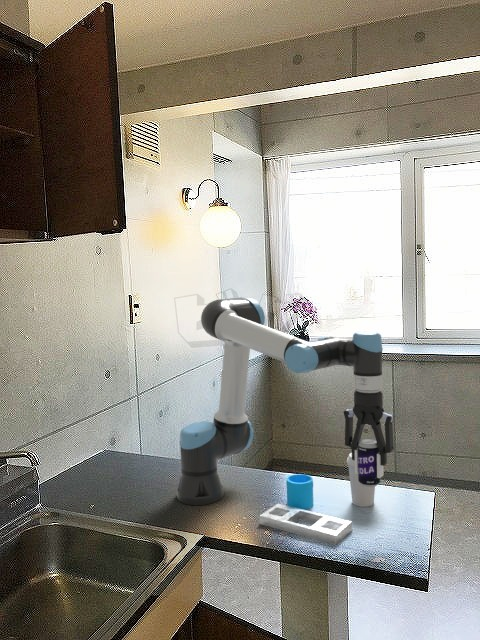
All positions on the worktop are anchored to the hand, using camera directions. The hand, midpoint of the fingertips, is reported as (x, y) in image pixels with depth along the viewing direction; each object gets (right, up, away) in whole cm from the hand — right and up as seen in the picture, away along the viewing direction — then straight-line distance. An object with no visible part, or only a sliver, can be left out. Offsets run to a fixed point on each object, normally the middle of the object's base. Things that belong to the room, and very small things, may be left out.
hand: (369, 474), depth 152 cm
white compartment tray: (-17, -17, +6) cm, 24 cm away
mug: (-15, -16, +24) cm, 32 cm away
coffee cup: (+3, -15, +22) cm, 26 cm away
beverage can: (0, -3, 0) cm, 3 cm away
